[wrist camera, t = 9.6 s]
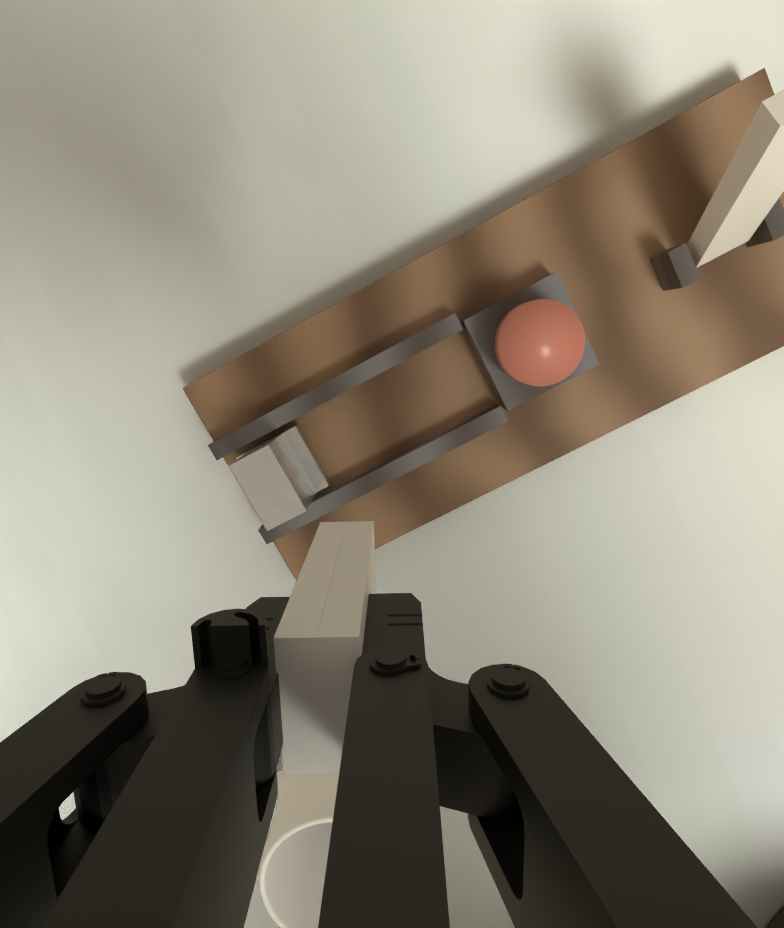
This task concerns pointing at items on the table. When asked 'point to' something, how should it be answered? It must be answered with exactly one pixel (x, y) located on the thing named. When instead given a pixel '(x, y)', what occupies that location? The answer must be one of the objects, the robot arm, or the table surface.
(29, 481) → the table surface
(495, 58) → the table surface
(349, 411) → the control board
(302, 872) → the mug
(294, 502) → the slide knob
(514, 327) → the push button
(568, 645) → the table surface
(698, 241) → the toggle lever
